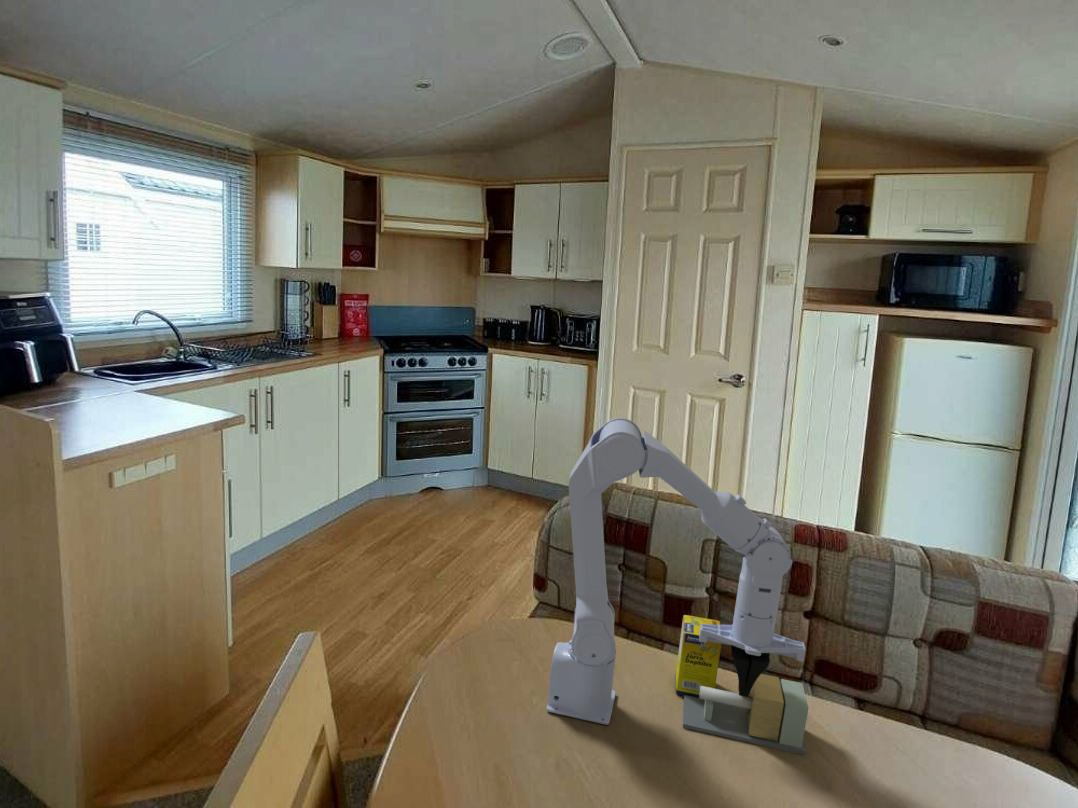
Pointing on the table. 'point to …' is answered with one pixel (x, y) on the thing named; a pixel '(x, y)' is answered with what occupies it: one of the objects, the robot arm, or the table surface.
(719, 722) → the shaft rig
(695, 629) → the supplement box
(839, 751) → the table surface
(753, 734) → the block
